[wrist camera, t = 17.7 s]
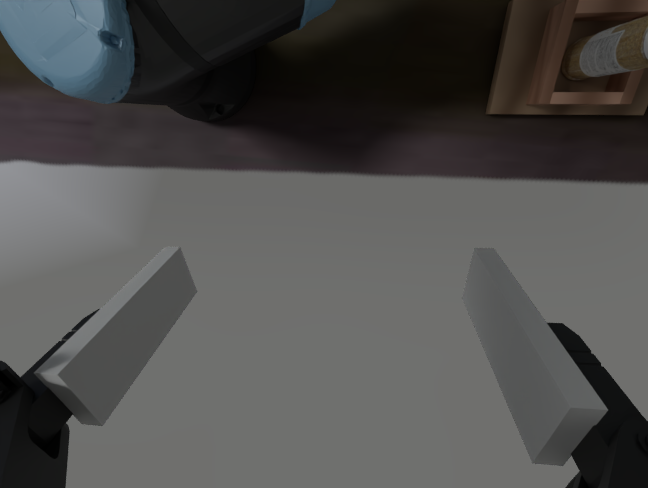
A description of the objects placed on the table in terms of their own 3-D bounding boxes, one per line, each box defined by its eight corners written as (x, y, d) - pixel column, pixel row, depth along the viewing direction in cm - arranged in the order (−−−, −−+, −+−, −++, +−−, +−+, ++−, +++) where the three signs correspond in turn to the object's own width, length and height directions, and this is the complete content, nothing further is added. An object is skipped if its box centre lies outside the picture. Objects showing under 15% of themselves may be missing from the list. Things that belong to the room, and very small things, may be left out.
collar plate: (485, 114, 39) (499, 113, 35) (508, 3, 35) (527, -13, 31) (633, 115, 37) (666, 114, 33) (678, -3, 33) (724, -20, 29)
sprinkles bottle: (608, 36, 34) (751, -11, 21) (594, 81, 35) (718, 62, 23) (565, 37, 34) (680, -8, 22) (553, 82, 36) (653, 63, 24)
